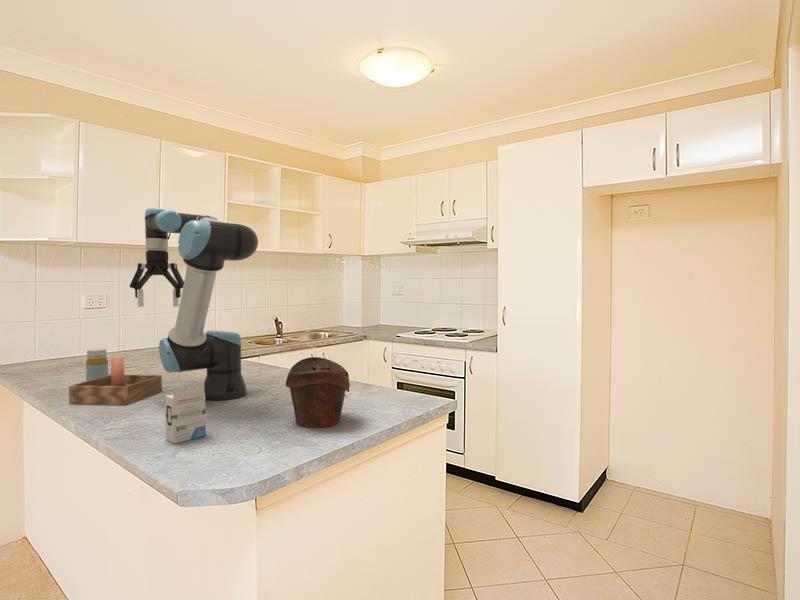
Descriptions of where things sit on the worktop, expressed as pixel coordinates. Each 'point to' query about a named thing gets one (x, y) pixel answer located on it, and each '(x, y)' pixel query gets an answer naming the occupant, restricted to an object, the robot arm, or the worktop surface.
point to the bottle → (96, 364)
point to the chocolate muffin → (317, 391)
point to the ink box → (185, 413)
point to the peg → (117, 371)
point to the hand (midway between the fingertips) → (158, 306)
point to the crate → (115, 390)
